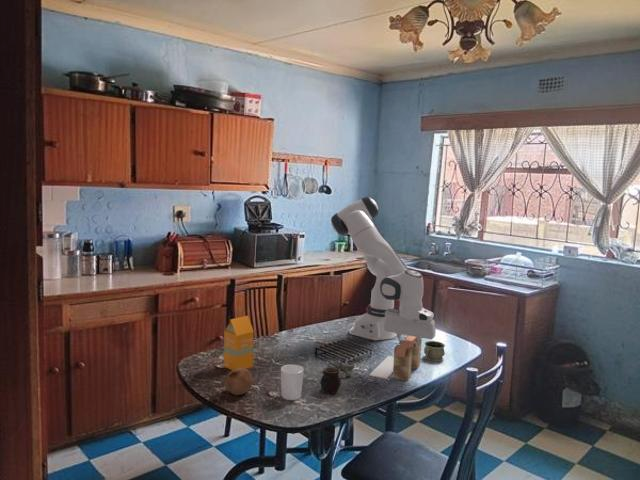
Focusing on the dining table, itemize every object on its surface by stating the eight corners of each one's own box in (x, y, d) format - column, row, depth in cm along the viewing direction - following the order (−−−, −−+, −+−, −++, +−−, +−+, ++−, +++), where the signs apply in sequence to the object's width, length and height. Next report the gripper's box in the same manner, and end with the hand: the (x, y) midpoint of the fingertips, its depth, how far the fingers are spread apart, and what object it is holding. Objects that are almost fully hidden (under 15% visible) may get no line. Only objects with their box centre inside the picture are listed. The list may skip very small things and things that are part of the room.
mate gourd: (316, 388, 185) (318, 361, 184) (335, 385, 188) (337, 359, 187) (324, 396, 179) (326, 369, 178) (344, 393, 182) (345, 366, 181)
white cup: (279, 391, 182) (280, 364, 180) (302, 391, 182) (303, 364, 181) (280, 401, 174) (280, 373, 173) (303, 401, 175) (304, 373, 173)
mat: (369, 375, 198) (369, 374, 198) (388, 356, 220) (388, 355, 220) (386, 379, 196) (386, 378, 195) (404, 359, 217) (404, 358, 217)
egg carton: (355, 376, 198) (356, 366, 197) (339, 380, 194) (339, 369, 194) (340, 366, 207) (341, 357, 206) (324, 369, 203) (325, 360, 203)
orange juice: (223, 366, 202) (224, 317, 200) (241, 360, 209) (242, 313, 206) (235, 372, 197) (236, 321, 194) (253, 366, 203) (254, 317, 201)
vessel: (432, 352, 228) (433, 338, 227) (449, 357, 222) (451, 343, 221) (417, 358, 219) (418, 344, 218) (435, 364, 213) (436, 350, 212)
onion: (233, 405, 176) (224, 385, 171) (227, 388, 184) (219, 368, 179) (259, 393, 178) (251, 373, 173) (252, 376, 186) (244, 356, 181)
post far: (403, 365, 210) (404, 337, 208) (405, 362, 214) (407, 335, 212) (417, 368, 208) (419, 340, 206) (419, 365, 211) (421, 337, 210)
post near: (392, 377, 198) (394, 347, 196) (395, 374, 201) (397, 344, 200) (407, 380, 195) (409, 350, 193) (410, 377, 199) (412, 347, 197)
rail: (395, 356, 193) (396, 348, 192) (412, 338, 214) (413, 331, 214) (403, 357, 192) (403, 349, 191) (419, 339, 213) (420, 332, 213)
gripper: (382, 309, 203) (380, 343, 205) (434, 317, 194) (431, 352, 196) (387, 306, 208) (385, 338, 210) (437, 314, 200) (435, 348, 202)
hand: (408, 345), depth 203 cm, fingers open, 4 cm apart
